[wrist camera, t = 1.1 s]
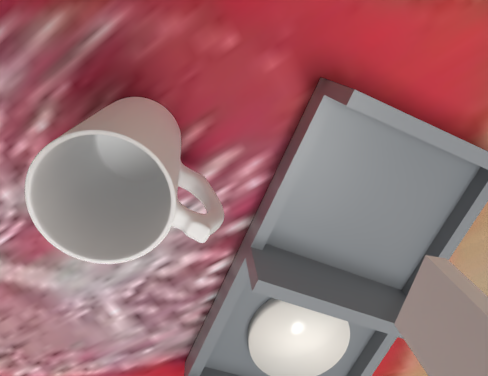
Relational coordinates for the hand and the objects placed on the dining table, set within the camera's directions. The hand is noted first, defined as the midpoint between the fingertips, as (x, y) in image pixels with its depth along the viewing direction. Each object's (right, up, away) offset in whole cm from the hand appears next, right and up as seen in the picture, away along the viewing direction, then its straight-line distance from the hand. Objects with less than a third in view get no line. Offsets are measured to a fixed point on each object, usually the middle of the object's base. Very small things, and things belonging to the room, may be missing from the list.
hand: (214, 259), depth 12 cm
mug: (-6, +5, +19) cm, 20 cm away
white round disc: (+6, -11, +25) cm, 28 cm away
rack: (+8, -5, +24) cm, 25 cm away
